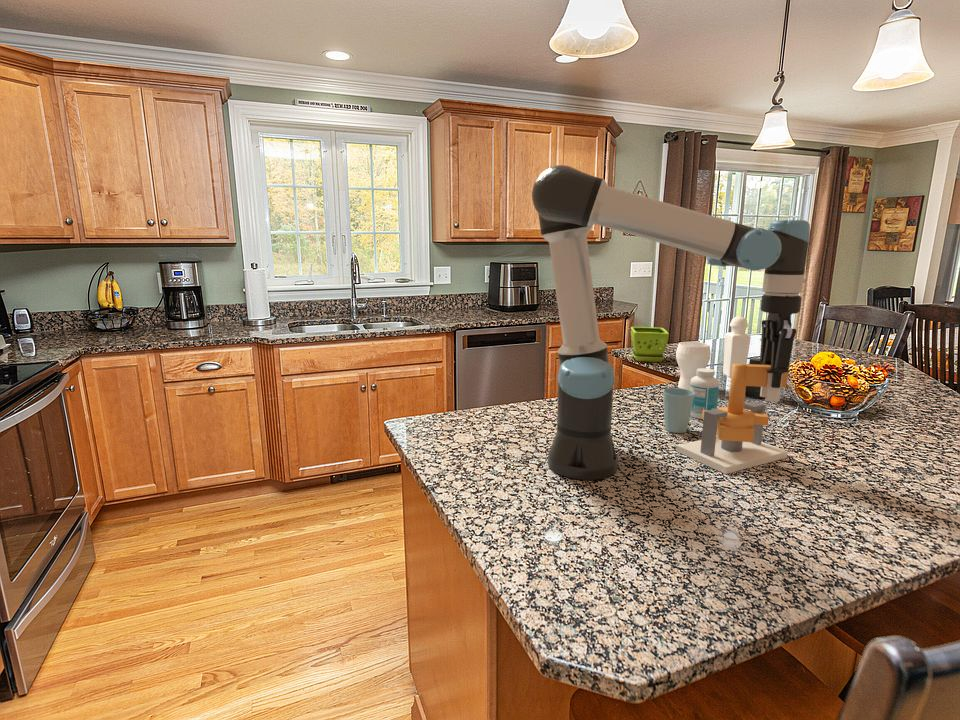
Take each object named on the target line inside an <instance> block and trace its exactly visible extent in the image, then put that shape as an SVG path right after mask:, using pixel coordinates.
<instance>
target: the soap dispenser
mask: <svg viewBox="0 0 960 720" xmlns="http://www.w3.org/2000/svg"><path fill="white" fill-rule="evenodd" d="M729 326H730V328H731V332H726V333H725V334H724V349H723V363H722V364H723V369H722V374H723V375H725V376H726V377H727V378H731V374H732V364H734V363H741V364H748V357H749V356H748V355H749V351H750V344H751V339H752V337H751V335H749V334H747V333H746V329H747V328H748V327H749V323H748V320H747V319H746V318H745V317H743V316H739V315H738V316H735V317H733V318H732V319H731V321H730V323H729Z"/></svg>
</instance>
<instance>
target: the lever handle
mask: <svg viewBox="0 0 960 720" xmlns="http://www.w3.org/2000/svg"><path fill="white" fill-rule="evenodd" d="M767 370H771V365H757V364H749V363H747V364H741V363H734V364H732V374H731V377H730V385H729V397H728V403H727V404H728V405H727V406H721V407H717V409H720V410H723V411H726V412H728V414H727V417H722V418H718V423H717V433H716V436H718V438H719V440H726V441H740V442H753V439H754V431H755V429H754V427H753V426H754V425H763V426H769V420H770V417H769V415H768V414H767V413H765V414H759V413H753V412H751V410H749V409H745V408H744V403H745V398H746V396H745V391H746V386H757V387H767V379H768V373H767ZM788 377H789V371H788V372H787V373H786V372H784V373H783V376H782V384H781V389H786V388H787V386H788V385H787V382H788ZM704 411H708V410H703V412H702V419H701V420H703V419H704Z"/></svg>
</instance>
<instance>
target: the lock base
mask: <svg viewBox="0 0 960 720" xmlns="http://www.w3.org/2000/svg"><path fill="white" fill-rule="evenodd" d="M766 407H767V404H766V403H762V402H759V401H750V402H744V409H746V410H749V411H751V412H753V413H759V414H766ZM727 414H728V412H726V411H723V410H720V409H718V408H717V409H713V410H708V411H704V419H702V429H701V430H702V431H701V439H698V440H694V441H690V442H685V443H681V444H677V445H676V450H675V451H676V452H677V453H679V454H682V455H684V456H686V457H688V458H690V459H692V460H694V459H695V460H694V461H696V462H698V463H701V464H703V465H705V466H707V467H709V468H712V469H714V470H715V471H719V472H720V471H721V473H722V472H723V473H722V474H724V473H725V474H724V475H728V474H731V473H734V472H738V471H742V470H746V469H749V468H754V467H757V466H761V465H765V464H768V463H771V462H772V463H773V462H776V461H780V460H782V459H787V458H788V453H789V452H788V451H787V450H784V449H782V448H779V447H777V446H774V445H771V444H769V443H766V442H763V441H762V440H763V432H764V425H754V426H753V427H754V429H755V431H754V439H753V442H740V441H726V440H719V438H718V436H717V435H716V433H717V423H718V418H722V417H727ZM727 473H728V474H727Z"/></svg>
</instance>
